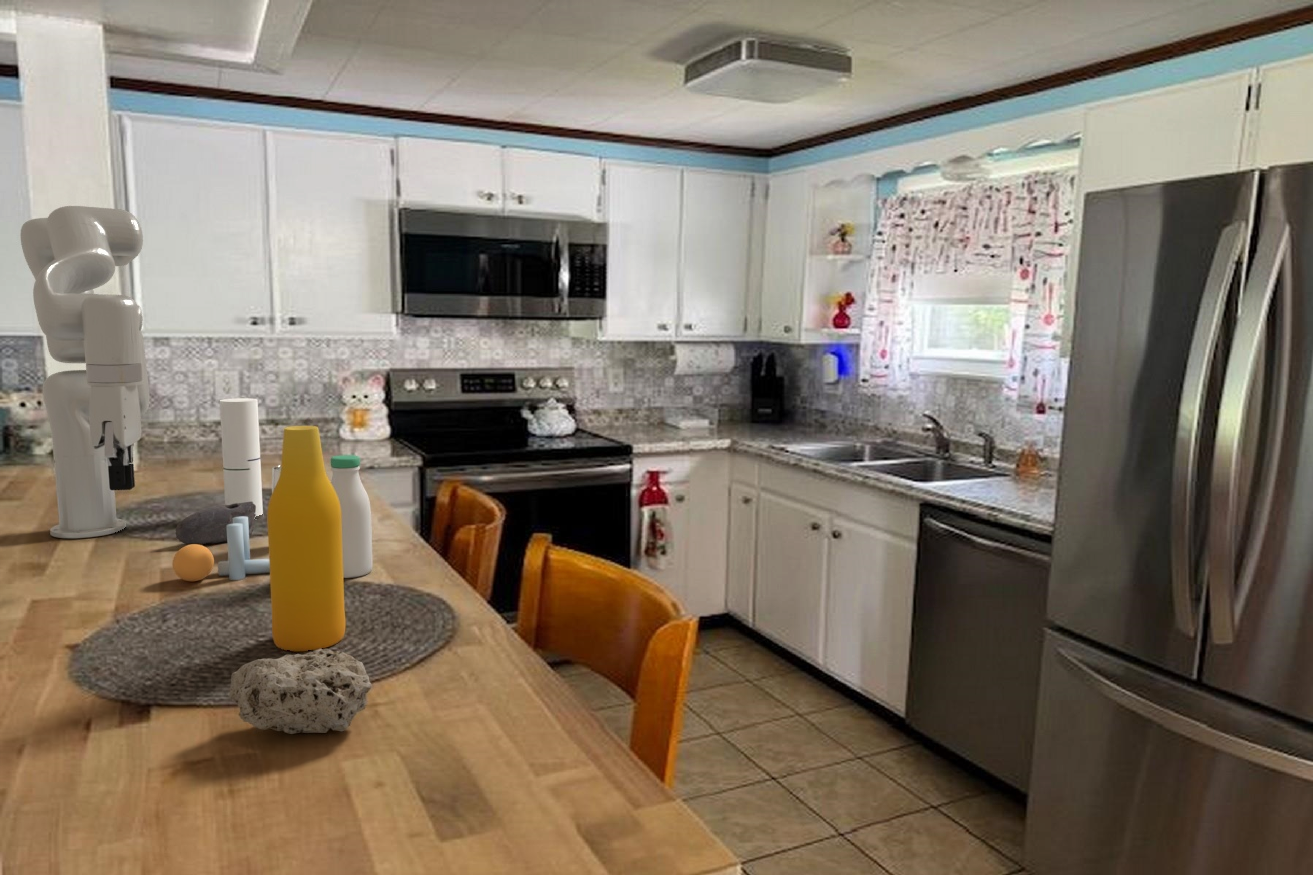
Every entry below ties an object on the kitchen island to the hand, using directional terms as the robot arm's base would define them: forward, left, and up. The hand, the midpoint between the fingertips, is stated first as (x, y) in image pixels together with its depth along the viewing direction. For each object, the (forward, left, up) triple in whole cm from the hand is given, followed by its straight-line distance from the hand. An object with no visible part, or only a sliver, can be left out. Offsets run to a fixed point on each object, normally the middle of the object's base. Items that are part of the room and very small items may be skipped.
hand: (122, 488), depth 142 cm
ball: (+3, +10, -12) cm, 16 cm away
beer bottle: (+35, +31, -15) cm, 49 cm away
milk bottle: (+4, +34, -15) cm, 38 cm away
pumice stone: (+61, +33, -15) cm, 71 cm away
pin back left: (+3, +17, -15) cm, 23 cm away
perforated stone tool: (-22, +9, -15) cm, 29 cm away
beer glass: (-16, +23, -15) cm, 32 cm away
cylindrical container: (-42, +10, -15) cm, 46 cm away
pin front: (+1, +14, -14) cm, 20 cm away
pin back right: (-2, +17, -15) cm, 23 cm away
